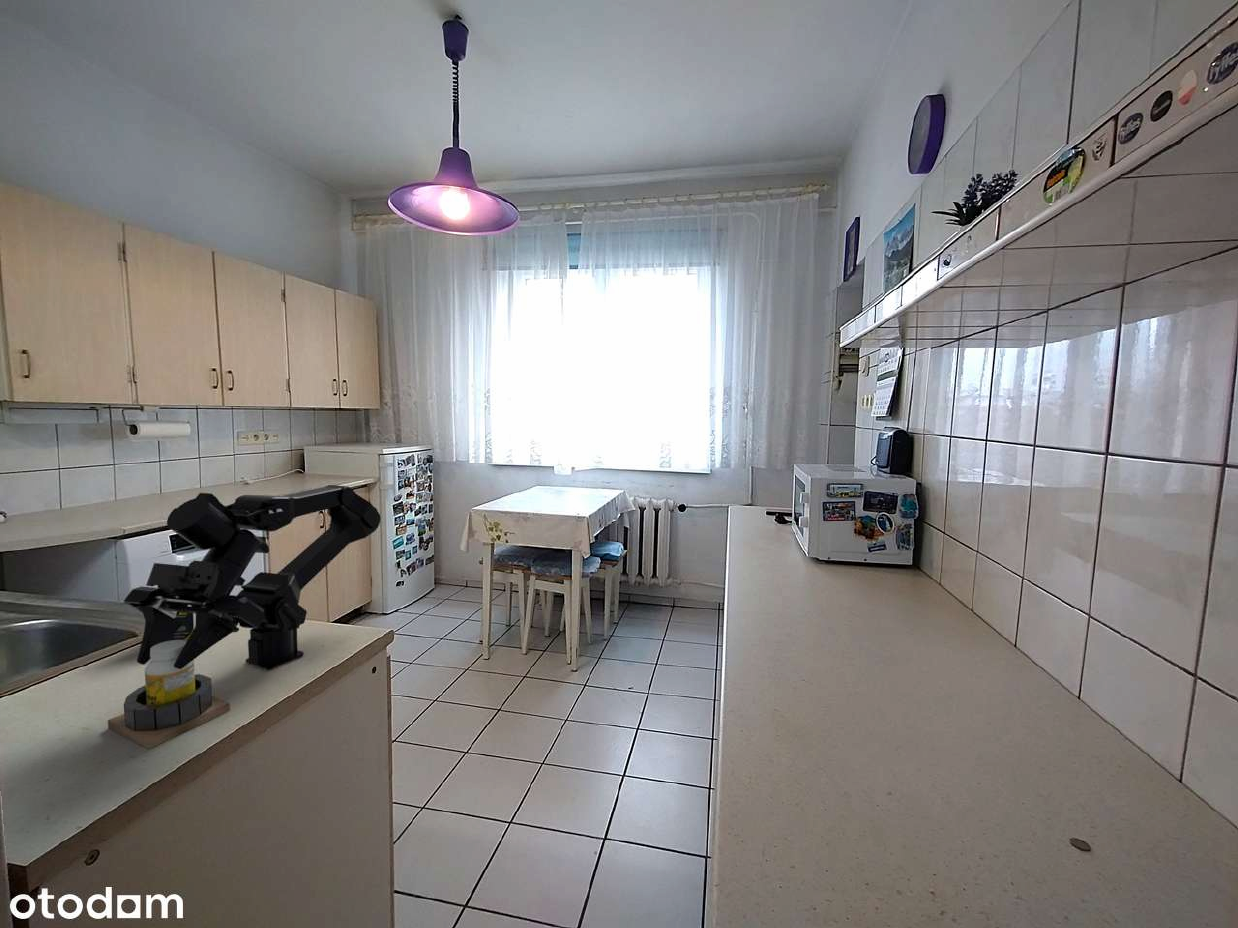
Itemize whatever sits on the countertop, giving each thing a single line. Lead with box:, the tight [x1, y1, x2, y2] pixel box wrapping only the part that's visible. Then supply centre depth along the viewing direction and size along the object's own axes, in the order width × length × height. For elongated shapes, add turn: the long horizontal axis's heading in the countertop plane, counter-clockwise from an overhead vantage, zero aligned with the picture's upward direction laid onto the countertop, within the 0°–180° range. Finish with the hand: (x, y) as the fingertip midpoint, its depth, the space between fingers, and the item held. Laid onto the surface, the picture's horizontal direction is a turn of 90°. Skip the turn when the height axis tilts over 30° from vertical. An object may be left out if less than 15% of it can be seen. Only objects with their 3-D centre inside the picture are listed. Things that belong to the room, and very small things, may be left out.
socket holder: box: [107, 673, 231, 750], centre depth 76 cm, size 10×10×4 cm
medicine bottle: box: [157, 585, 196, 642], centre depth 102 cm, size 7×7×12 cm
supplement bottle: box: [144, 640, 196, 705], centre depth 76 cm, size 5×5×10 cm
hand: (158, 665), depth 74 cm, fingers open, 6 cm apart
